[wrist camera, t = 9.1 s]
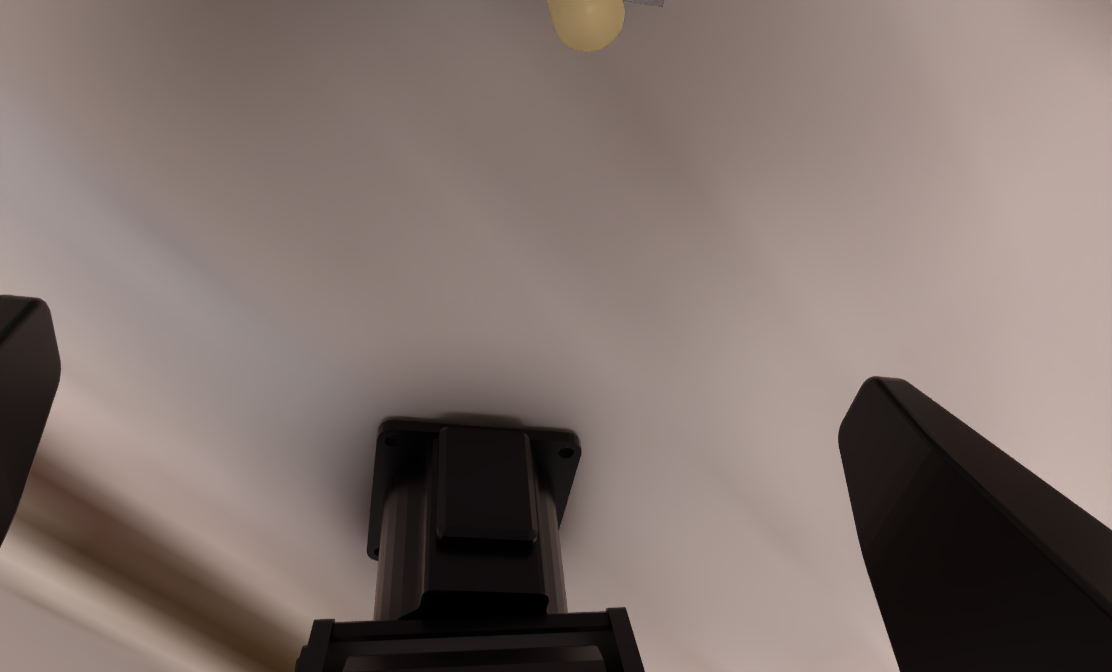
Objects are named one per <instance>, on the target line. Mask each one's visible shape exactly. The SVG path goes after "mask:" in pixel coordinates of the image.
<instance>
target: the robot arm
mask: <svg viewBox="0 0 1112 672" xmlns="http://www.w3.org/2000/svg"><path fill="white" fill-rule="evenodd" d="M60 375H61V361H60V356H59V351H58V346H57V341H56V336H55V331H54V327H53V322H52V317H51V312H50V309H49V307H48V305H47V303H46V302H45V301H43V300H42V299H40V298H35V297H25V296H14V295H0V547H1V545H2V543H3V541H4V539H5V536H6V534H7V532H8V530H9V528H10V525H11V523H12V521H13V518H14V516H15V514H16V512H17V509H18V506H19V503H20V500H21V498H22V495H23V492H24V489H25V486H26V483H27V480H28V477H29V474H30V471H31V468H32V465H33V461H34V458H35V455H36V452H37V449H38V446H39V443H40V440H41V437H42V434H43V431H44V428H45V425H46V422H47V419H48V416H49V413H50V409H51V406H52V403H53V400H54V397H55V394H56V391H57V388H58V385H59V381H60ZM389 435H396V436H399V437H394V438H393V437H389ZM838 443H839V449H840V454H841V459H842V464H843V468H844V473H845V478H846V483H847V487H848V492H849V497H850V502H851V506H852V511H853V516H854V521H855V525H856V530H857V535H858V539H859V543H860V547H861V551H862V555H863V559H864V562H865V565H866V569H867V572H868V575H869V578H870V581H871V584H872V588H873V591H874V594H875V597H876V600H877V603H878V606H879V609H880V612H881V615H882V618H883V621H884V624H885V627H886V630H887V633H888V636H889V639H890V642H891V645H892V649H893V652H894V655H895V658H896V661H897V664H898V667H899V670H900V672H1112V530H1111V529H1110V528H1108V527H1107V526H1105V525H1104V524H1103V523H1101V522H1100V521H1099V520H1097V519H1096V518H1094V517H1093V516H1092V515H1090V514H1089V513H1088V512H1086V511H1085V510H1083V509H1082V508H1081V507H1079V506H1078V505H1077V504H1075V503H1074V502H1072V501H1071V500H1070V499H1068V498H1067V497H1065V496H1064V495H1063V494H1061V493H1060V492H1059V491H1057V490H1056V489H1054V488H1053V487H1052V486H1050V485H1049V484H1048V483H1046V482H1045V481H1043V480H1042V479H1041V478H1039V477H1038V476H1037V475H1035V474H1034V473H1032V472H1031V471H1030V470H1028V469H1027V468H1026V467H1024V466H1023V465H1021V464H1020V463H1019V462H1017V461H1016V460H1015V459H1013V458H1012V457H1010V456H1009V455H1008V454H1006V453H1005V452H1004V451H1002V450H1001V449H999V448H998V447H997V446H995V445H994V444H993V443H991V442H990V441H988V440H987V439H986V438H984V437H983V436H982V435H980V434H979V433H977V432H976V431H975V430H973V429H972V428H971V427H969V426H968V425H966V424H965V423H964V422H962V421H961V420H960V419H958V418H957V417H955V416H954V415H953V414H951V413H950V412H949V411H947V410H946V409H944V408H943V407H942V406H940V405H939V404H938V403H936V402H935V401H933V400H932V399H931V398H929V397H928V396H927V395H925V394H924V393H922V392H921V391H920V390H918V389H917V388H915V387H914V386H913V385H911V384H910V383H909V382H907V381H905V380H903V379H900V378H890V377H879V376H874V377H870V378H868V379H867V380H866V381H865V382H864V383H863V384H862V386H861V388H860V389H859V391H858V393H857V395H856V397H855V399H854V401H853V402H852V404H851V406H850V408H849V410H848V412H847V413H846V415H845V417H844V419H843V421H842V423H841V425H840V429H839V434H838ZM565 447H569V448H568V449H562V448H565ZM580 457H581V444H580V440H579V438H578V437H577V436H575V435H574V434H570V433H561V432H548V431H534V430H520V429H507V428H493V427H480V426H466V425H453V424H439V423H426V422H412V421H398V420H391V421H387V422H384V423H382V424H381V425H380V426H379V428H378V433H377V443H376V454H375V465H374V476H373V487H372V498H371V510H370V521H369V532H368V543H367V555H368V556H369V557H370V558H372V559H374V560H377V561H378V573H377V584H376V596H375V607H374V619H373V621H352V622H335V619H320V620H314V622H313V626H312V630H311V634H310V638H309V642H308V645H304V646H303V647H302V650H301V654H300V658H298V659H297V660H296V666H295V672H645V670H644V667H643V664H642V660H641V657H640V654H639V650H638V647H637V644H636V640H635V637H634V634H633V630H632V627H631V624H630V620H629V617H628V614H627V611H626V608H625V607H619V608H606V611H599V612H574V613H568V610H567V601H566V592H565V584H564V575H563V566H562V558H561V549H560V540H559V532H558V531H559V527H560V524H561V521H562V517H563V514H564V511H565V507H566V504H567V500H568V497H569V494H570V490H571V487H572V484H573V480H574V477H575V473H576V470H577V467H578V463H579V460H580Z"/></svg>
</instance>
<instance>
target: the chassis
mask: <svg viewBox="0 0 1112 672" xmlns="http://www.w3.org/2000/svg"><path fill="white" fill-rule="evenodd" d="M624 1H630V2H636V3H641V4H647V5H653V6H659V7H663V3H664V0H624ZM547 2H548V6H549V10H550V14H551V17H552V21H553V25H554V29H555V31H556V34H557V35H558V37H559V38H560V40H561V41H562V42H563V43H564V44H565V45H567V46H568V47H570V48H572V49H574V50H576V51H581V52H593V51H597V50H600V49H602V48H604V47H606V46H608V45H609V44H610V43H612V42H613V41H614V40H615V38H616V37H617V36H618V34H619V33H620V31H621V29H622V26H623V23H624V18H625V8H624V3H623V0H547Z"/></svg>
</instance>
